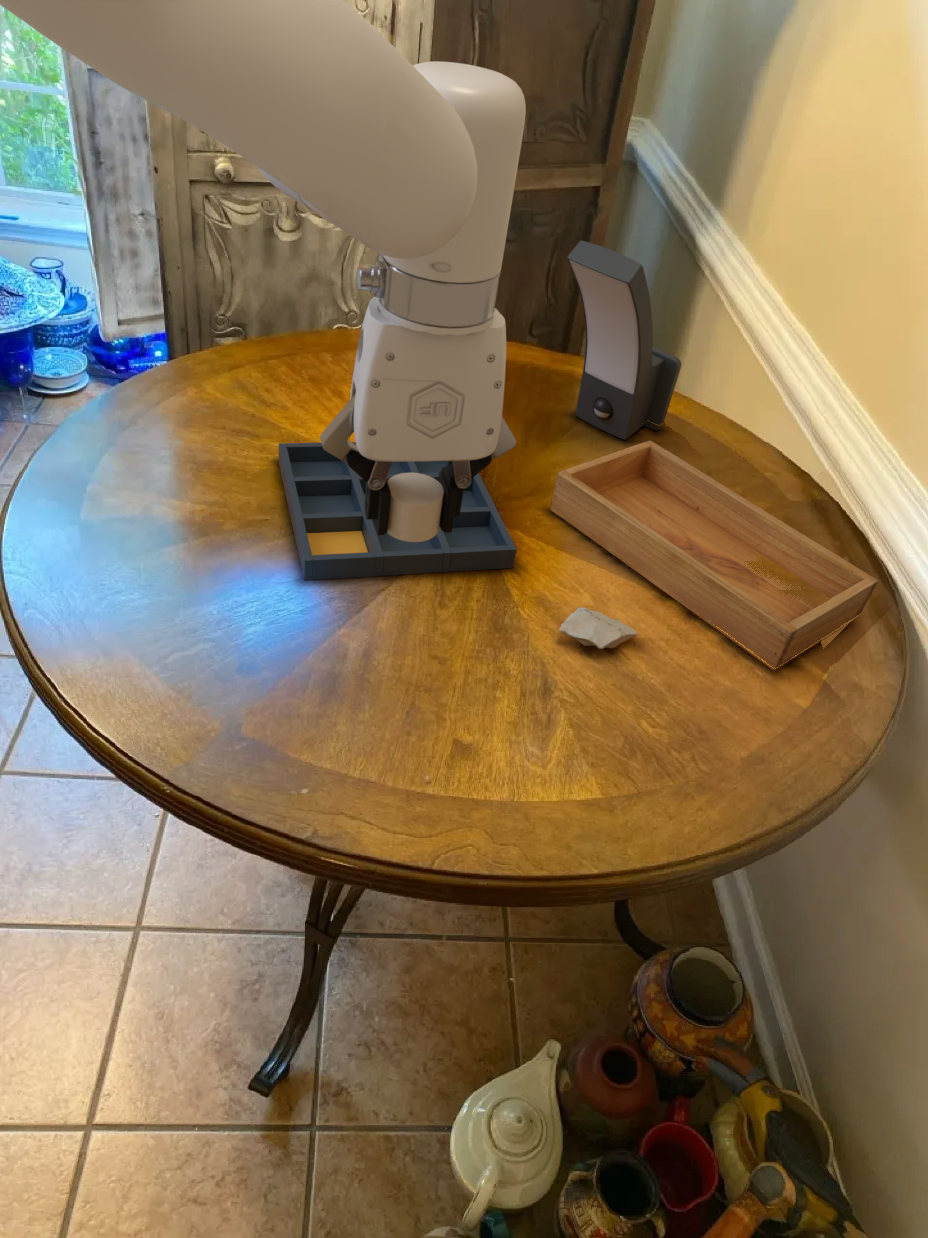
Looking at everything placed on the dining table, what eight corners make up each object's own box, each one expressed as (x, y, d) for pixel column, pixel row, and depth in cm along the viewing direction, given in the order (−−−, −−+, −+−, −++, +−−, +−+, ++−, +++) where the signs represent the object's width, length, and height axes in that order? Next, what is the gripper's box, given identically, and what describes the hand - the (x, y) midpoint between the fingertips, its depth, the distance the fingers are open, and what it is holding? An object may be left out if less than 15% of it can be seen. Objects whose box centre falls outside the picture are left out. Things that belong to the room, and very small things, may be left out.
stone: (581, 611, 90) (547, 639, 86) (586, 592, 88) (552, 620, 84) (636, 641, 87) (605, 671, 83) (642, 622, 86) (610, 652, 82)
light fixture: (519, 435, 114) (558, 237, 99) (596, 396, 125) (642, 213, 110) (590, 472, 110) (643, 271, 94) (663, 429, 121) (721, 242, 105)
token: (387, 543, 68) (391, 505, 66) (377, 509, 71) (380, 472, 69) (444, 541, 69) (450, 504, 67) (432, 508, 73) (437, 471, 70)
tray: (548, 511, 102) (558, 468, 98) (638, 478, 110) (651, 436, 107) (769, 678, 86) (792, 633, 82) (855, 623, 94) (879, 580, 90)
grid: (304, 580, 87) (304, 560, 86) (278, 461, 102) (278, 443, 101) (513, 568, 93) (517, 549, 92) (459, 457, 108) (462, 439, 107)
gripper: (313, 309, 54) (306, 558, 65) (580, 318, 58) (528, 548, 70) (298, 261, 59) (294, 498, 71) (544, 272, 63) (501, 493, 75)
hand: (411, 521), depth 70 cm, fingers closed on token, 4 cm apart
